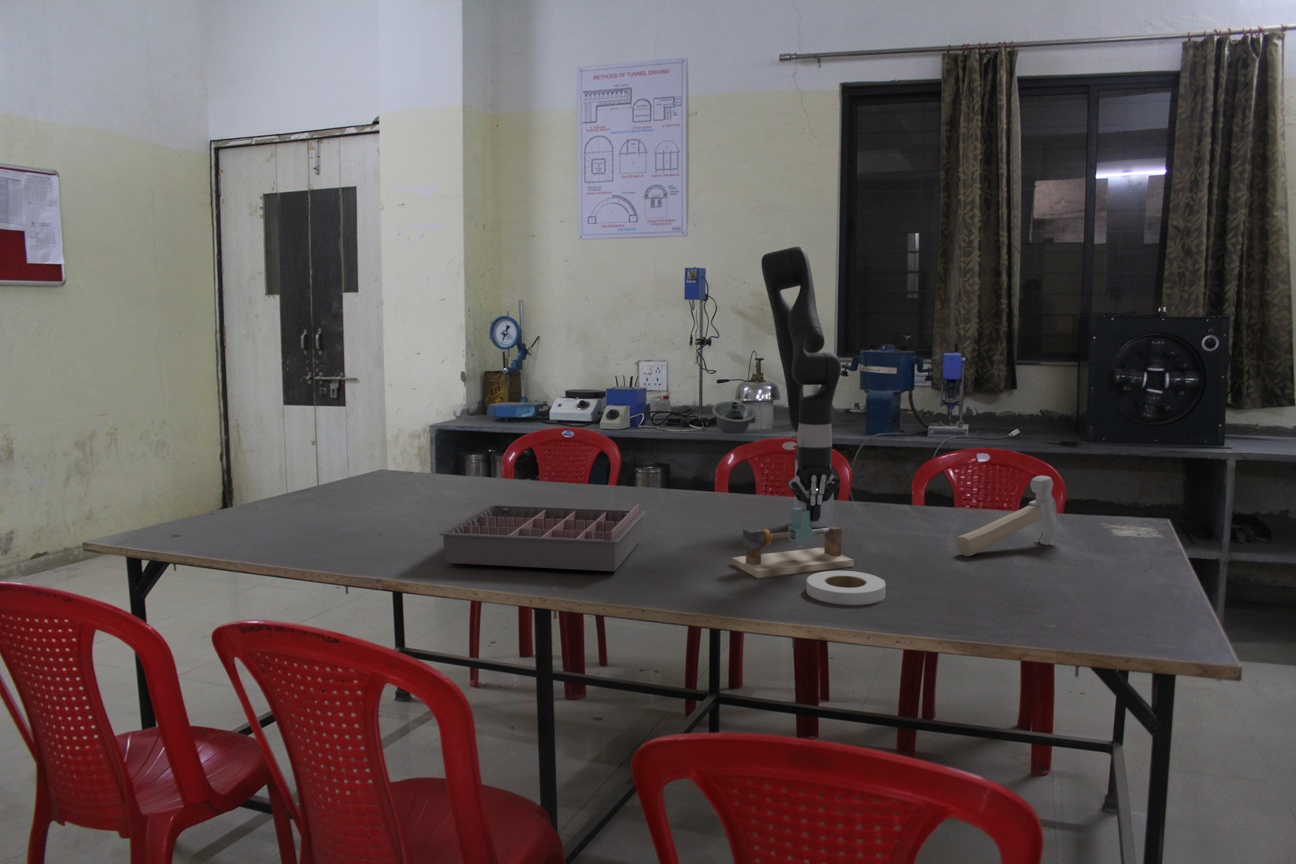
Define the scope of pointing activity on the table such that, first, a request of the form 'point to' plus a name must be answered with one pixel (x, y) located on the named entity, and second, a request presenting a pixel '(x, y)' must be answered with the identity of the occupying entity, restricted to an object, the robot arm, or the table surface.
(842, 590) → the roll of tape
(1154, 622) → the table surface
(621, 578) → the table surface
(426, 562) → the table surface
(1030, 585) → the table surface
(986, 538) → the hammer
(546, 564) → the organizer tray
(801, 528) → the teal stepped block
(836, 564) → the cable board
